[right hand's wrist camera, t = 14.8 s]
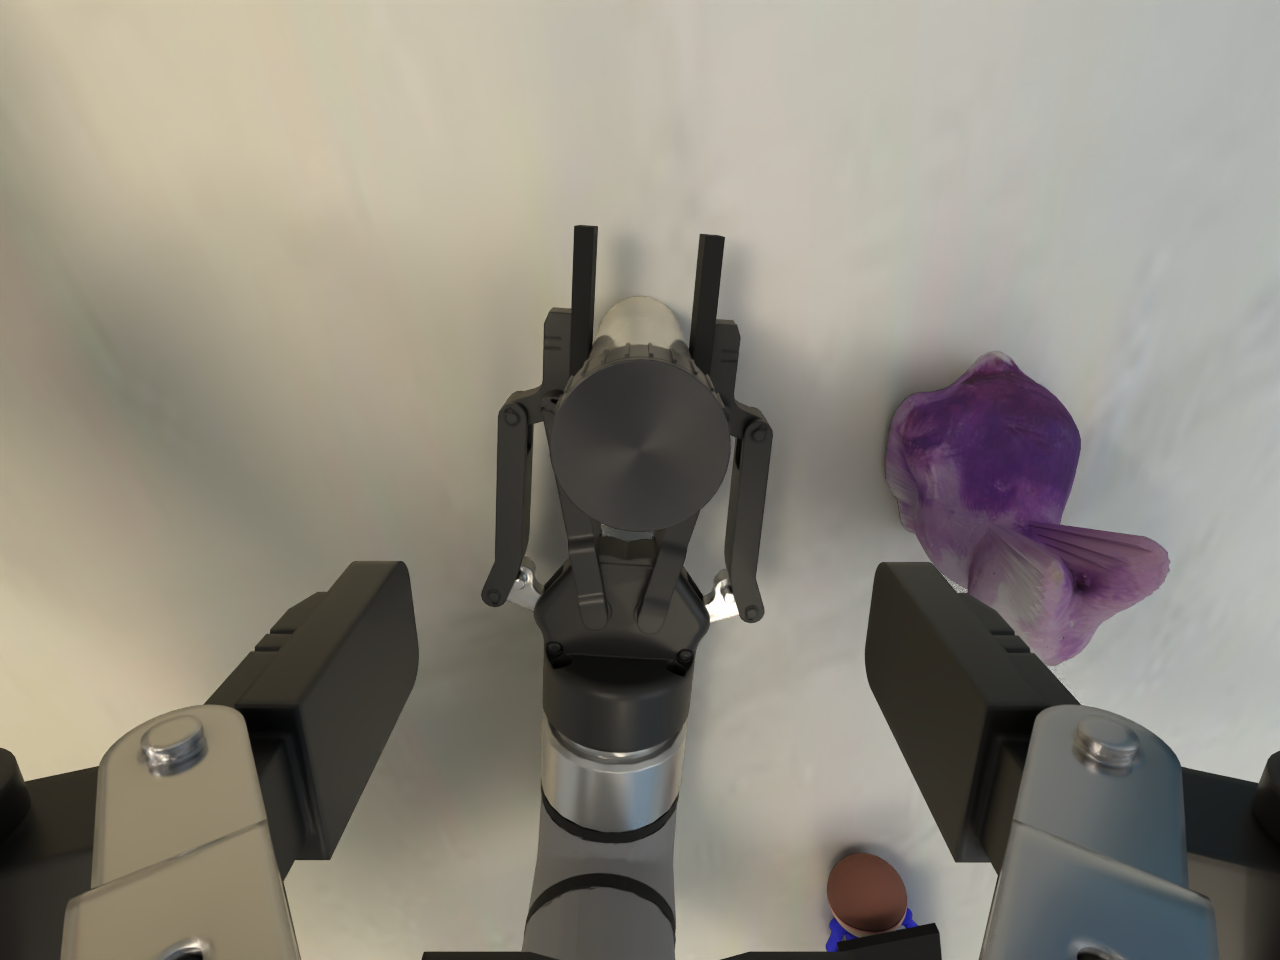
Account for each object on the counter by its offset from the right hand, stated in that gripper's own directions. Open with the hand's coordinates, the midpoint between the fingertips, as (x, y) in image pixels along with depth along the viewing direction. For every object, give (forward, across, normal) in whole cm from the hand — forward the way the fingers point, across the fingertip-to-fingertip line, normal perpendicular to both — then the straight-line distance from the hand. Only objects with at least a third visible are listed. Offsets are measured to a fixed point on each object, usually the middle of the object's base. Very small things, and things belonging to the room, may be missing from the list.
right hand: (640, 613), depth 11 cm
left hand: (+20, 0, -5) cm, 21 cm away
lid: (+9, 0, 0) cm, 9 cm away
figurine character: (+27, -16, +41) cm, 51 cm away
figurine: (+27, -17, +7) cm, 33 cm away
